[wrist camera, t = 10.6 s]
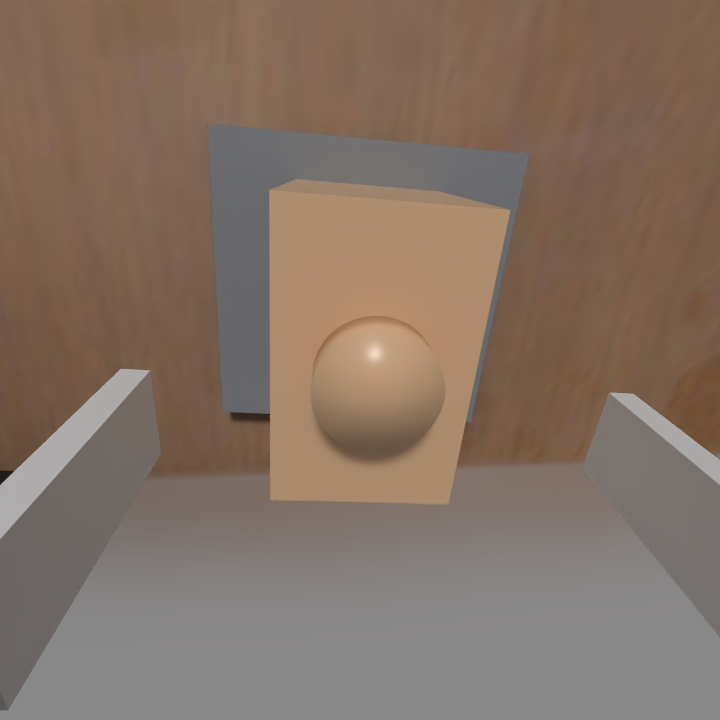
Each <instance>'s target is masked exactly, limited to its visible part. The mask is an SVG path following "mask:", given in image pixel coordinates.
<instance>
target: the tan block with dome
mask: <svg viewBox="0 0 720 720" xmlns="http://www.w3.org/2000/svg"><path fill="white" fill-rule="evenodd" d="M509 215H510V210H508V209H505V208H501V207H497V206H493V205H489V204H485V203H482V202H478V201H474V200H470V199H466V198H463V197H459V196H455V195H451V194H447V193H443V192H440V191H428V190H417V189H405V188H393V187H382V186H370V185H358V184H347V183H335V182H324V181H312V180H300V179H295V180H293V181H290V182H288V183H285V184H283V185H280V186H278V187H275V188H273V189H270V190H269V249H270V500H287V501H288V500H289V501H328V502H329V501H330V502H368V503H409V504H410V503H411V504H448V503H449V499H450V494H451V489H452V485H453V480H454V475H455V470H456V466H457V461H458V456H459V451H460V447H461V442H462V437H463V432H464V428H465V423H466V418H467V414H468V409H469V404H470V399H471V395H472V390H473V385H474V380H475V376H476V371H477V366H478V362H479V357H480V352H481V347H482V343H483V338H484V333H485V328H486V324H487V319H488V314H489V310H490V305H491V300H492V295H493V291H494V286H495V281H496V276H497V272H498V267H499V262H500V258H501V253H502V248H503V243H504V239H505V234H506V229H507V224H508V220H509Z"/></svg>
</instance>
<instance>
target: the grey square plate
mask: <svg viewBox="0 0 720 720" xmlns="http://www.w3.org/2000/svg"><path fill="white" fill-rule="evenodd" d="M207 131H208V150H209V168H210V187H211V205H212V224H213V242H214V261H215V279H216V298H217V316H218V335H219V353H220V372H221V390H222V409H223V412H238V413H262V414H270V249H269V190H270V189H273V188H275V187H278V186H280V185H283V184H285V183H288V182H290V181H293V180H295V179H300V180H312V181H324V182H335V183H347V184H358V185H370V186H382V187H393V188H405V189H417V190H428V191H440V192H443V193H447V194H451V195H455V196H459V197H463V198H466V199H470V200H474V201H478V202H482V203H485V204H489V205H493V206H497V207H501V208H505V209H508V210H510V215H509V220H508V224H507V229H506V234H505V239H504V243H503V248H502V253H501V258H500V262H499V267H498V272H497V276H496V281H495V286H494V291H493V295H492V300H491V305H490V310H489V314H488V319H487V324H486V328H485V333H484V338H483V343H482V347H481V352H480V357H479V362H478V366H477V371H476V376H475V380H474V385H473V390H472V395H471V399H470V404H469V409H468V414H467V418H466V422H471V420H472V415H473V411H474V406H475V401H476V397H477V392H478V388H479V383H480V378H481V374H482V369H483V365H484V360H485V355H486V351H487V346H488V342H489V337H490V332H491V328H492V323H493V319H494V314H495V310H496V305H497V300H498V296H499V291H500V287H501V282H502V277H503V273H504V268H505V264H506V259H507V254H508V250H509V245H510V241H511V236H512V232H513V227H514V222H515V218H516V213H517V209H518V204H519V199H520V195H521V190H522V186H523V181H524V176H525V172H526V167H527V163H528V158H529V154H522V153H512V152H501V151H491V150H480V149H470V148H459V147H449V146H438V145H428V144H417V143H407V142H396V141H386V140H375V139H365V138H354V137H344V136H333V135H323V134H313V133H302V132H292V131H281V130H271V129H260V128H250V127H239V126H229V125H218V124H208V123H207Z"/></svg>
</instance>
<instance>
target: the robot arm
mask: <svg viewBox="0 0 720 720" xmlns="http://www.w3.org/2000/svg"><path fill="white" fill-rule="evenodd" d="M160 455H161V451H160V444H159V436H158V428H157V420H156V412H155V404H154V396H153V388H152V381H151V373H150V370H130V369H120V370H119V371H118V372H117V373H116V374H115V375H114V376H113V377H112V378H111V379H110V380H109V381H108V382H107V383H106V384H105V385H104V386H103V387H102V388H101V389H100V390H99V391H97V392H96V393H95V394H94V395H93V396H92V397H91V398H90V399H89V400H88V401H87V402H86V403H85V404H84V405H83V406H82V407H81V408H80V409H79V410H78V411H77V412H76V413H75V414H74V415H73V416H71V417H70V418H69V419H68V420H67V421H66V422H65V423H64V424H63V425H62V426H61V427H60V428H59V429H58V430H57V431H56V432H55V433H54V434H53V435H52V436H51V437H50V438H49V439H48V440H47V441H46V442H44V443H43V444H42V445H41V446H40V447H39V448H38V449H37V450H36V451H35V452H34V453H33V454H32V455H31V456H30V457H29V458H28V459H27V460H26V461H25V462H24V463H23V464H22V465H21V466H20V467H18V468H17V469H16V470H15V471H0V710H8V709H9V707H10V706H11V704H12V703H13V701H14V699H15V698H16V696H17V694H18V693H19V691H20V689H21V688H22V686H23V684H24V683H25V681H26V679H27V678H28V676H29V674H30V673H31V671H32V669H33V668H34V666H35V664H36V663H37V661H38V659H39V658H40V656H41V654H42V652H43V651H44V649H45V647H46V646H47V644H48V642H49V641H50V639H51V637H52V636H53V634H54V632H55V631H56V629H57V627H58V626H59V624H60V622H61V621H62V619H63V617H64V616H65V614H66V612H67V611H68V609H69V607H70V605H71V604H72V602H73V600H74V599H75V597H76V595H77V594H78V592H79V590H80V589H81V587H82V585H83V584H84V582H85V580H86V579H87V577H88V575H89V573H90V572H91V570H92V569H93V567H94V565H95V564H96V562H97V560H98V558H99V557H100V555H101V554H102V552H103V550H104V548H105V547H106V545H107V544H108V542H109V540H110V538H111V537H112V535H113V533H114V532H115V530H116V528H117V527H118V525H119V523H120V522H121V520H122V518H123V516H124V515H125V513H126V512H127V510H128V508H129V507H130V505H131V503H132V502H133V500H134V498H135V497H136V495H137V493H138V491H139V490H140V488H141V486H142V485H143V483H144V481H145V480H146V478H147V476H148V475H149V473H150V471H151V470H152V468H153V466H154V465H155V463H156V461H157V460H158V458H159V456H160ZM582 468H583V470H584V471H585V472H586V473H587V475H588V476H589V477H590V478H591V479H592V481H593V482H594V483H595V484H596V486H597V487H598V488H599V489H600V491H601V492H602V493H603V494H604V496H605V497H606V498H607V499H608V500H609V502H610V503H611V504H612V505H613V507H614V508H615V509H616V510H617V511H618V513H619V514H620V515H621V516H622V518H623V519H624V520H625V521H626V523H627V524H628V525H629V526H630V527H631V529H632V530H633V531H634V532H635V533H636V535H637V536H638V537H639V538H640V540H641V541H642V542H643V543H644V545H645V546H646V547H647V548H648V549H649V550H650V552H651V553H652V554H653V555H654V557H655V558H656V559H657V560H658V562H659V563H660V564H661V565H662V567H663V568H664V569H665V570H666V572H667V573H668V574H669V575H670V576H671V578H672V579H673V580H674V581H675V583H676V584H677V585H678V586H679V587H680V589H681V590H682V591H683V592H684V594H685V595H686V596H687V597H688V599H689V600H690V601H691V602H692V603H693V605H694V606H695V607H696V608H697V609H698V611H699V612H700V613H701V614H702V616H703V617H704V618H705V619H706V621H707V622H708V623H709V624H710V625H711V627H712V628H713V629H714V630H715V632H716V633H717V634H718V635H719V636H720V460H719V459H717V458H716V457H715V456H714V455H712V454H711V453H710V452H708V451H707V450H706V449H704V448H703V447H702V446H701V445H699V444H698V443H697V442H695V441H694V440H693V439H691V438H690V437H689V436H688V435H686V434H685V433H684V432H682V431H681V430H680V429H678V428H677V427H676V426H675V425H673V424H672V423H671V422H669V421H668V420H667V419H665V418H664V417H663V416H662V415H660V414H659V413H658V412H656V411H655V410H654V409H652V408H651V407H650V406H648V405H647V404H646V403H645V402H643V401H642V400H641V399H639V398H638V397H637V396H635V395H634V394H623V393H609V395H608V397H607V400H606V403H605V406H604V409H603V411H602V414H601V417H600V420H599V423H598V425H597V428H596V431H595V434H594V437H593V439H592V442H591V445H590V448H589V450H588V453H587V456H586V459H585V462H584V464H583V467H582Z"/></svg>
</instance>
